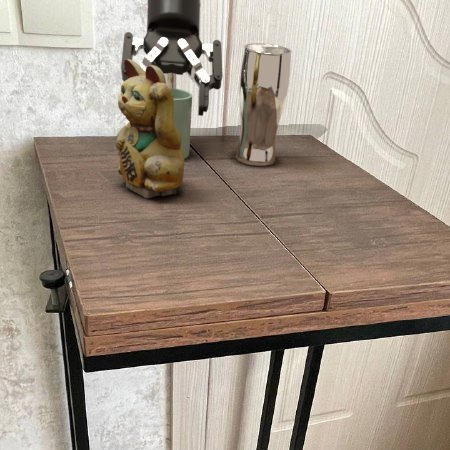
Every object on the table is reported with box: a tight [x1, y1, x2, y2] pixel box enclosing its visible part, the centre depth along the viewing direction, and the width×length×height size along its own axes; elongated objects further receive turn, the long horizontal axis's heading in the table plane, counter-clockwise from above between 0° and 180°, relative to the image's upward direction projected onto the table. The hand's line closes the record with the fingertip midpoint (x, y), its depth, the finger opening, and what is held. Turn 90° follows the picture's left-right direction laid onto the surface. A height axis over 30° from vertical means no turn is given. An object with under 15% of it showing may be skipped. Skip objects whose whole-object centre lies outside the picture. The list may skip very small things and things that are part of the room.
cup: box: [170, 87, 193, 160], centre depth 91 cm, size 6×6×8 cm
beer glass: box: [234, 42, 293, 167], centre depth 90 cm, size 7×7×15 cm
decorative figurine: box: [115, 59, 185, 199], centre depth 78 cm, size 10×8×15 cm
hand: (171, 110), depth 89 cm, fingers open, 8 cm apart
